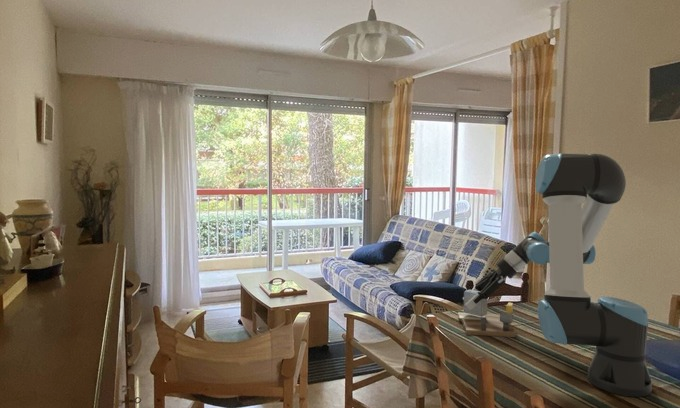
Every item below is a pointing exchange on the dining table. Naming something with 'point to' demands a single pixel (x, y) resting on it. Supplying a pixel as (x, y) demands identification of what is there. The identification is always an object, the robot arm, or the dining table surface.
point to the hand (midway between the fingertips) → (466, 304)
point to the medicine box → (479, 308)
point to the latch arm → (507, 314)
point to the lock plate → (486, 325)
